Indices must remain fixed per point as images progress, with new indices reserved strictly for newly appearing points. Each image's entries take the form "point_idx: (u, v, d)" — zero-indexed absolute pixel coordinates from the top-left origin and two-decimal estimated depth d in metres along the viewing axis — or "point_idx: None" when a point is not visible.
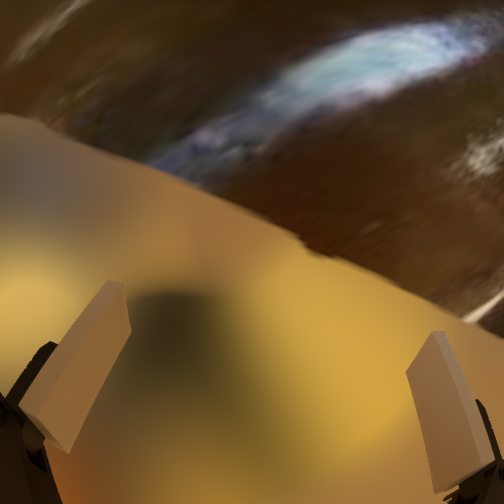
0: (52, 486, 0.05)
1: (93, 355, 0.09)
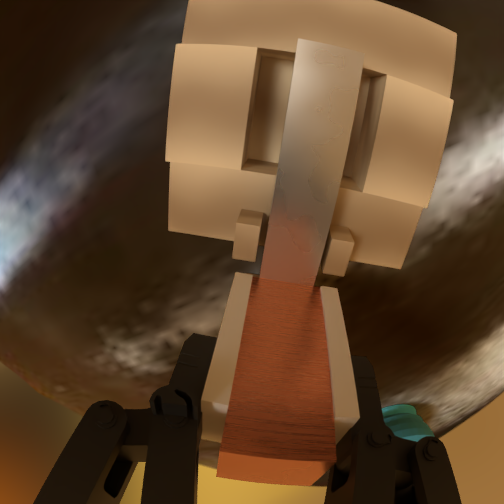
0: (196, 493, 0.06)
1: None
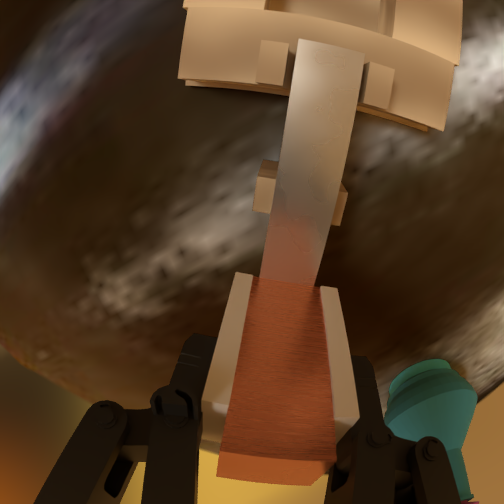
0: None
1: None
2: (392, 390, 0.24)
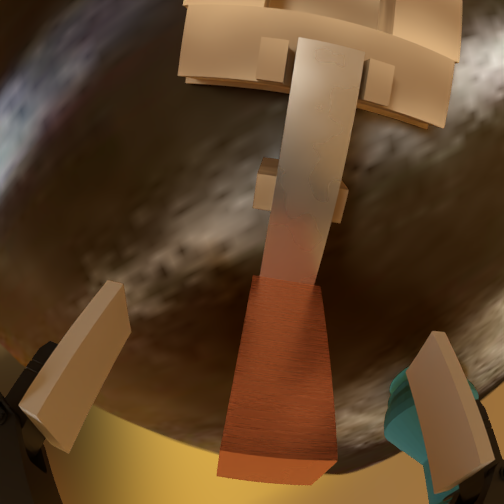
0: (52, 486, 0.05)
1: (93, 355, 0.09)
2: (393, 389, 0.24)
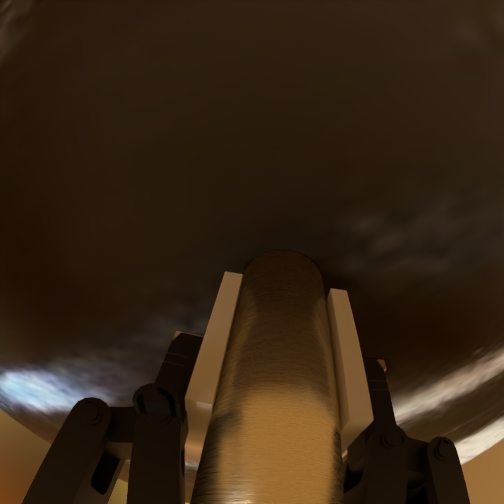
0: (183, 491, 0.06)
1: None
2: None
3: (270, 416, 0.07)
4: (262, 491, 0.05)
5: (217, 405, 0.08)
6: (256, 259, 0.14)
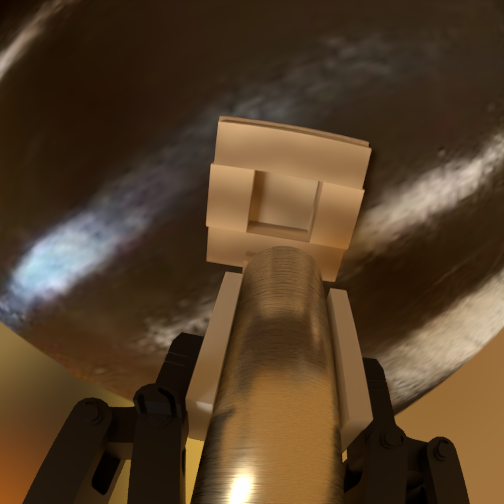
0: (184, 491, 0.06)
1: None
2: None
3: (271, 401, 0.07)
4: (264, 473, 0.05)
5: (220, 393, 0.08)
6: (257, 254, 0.14)
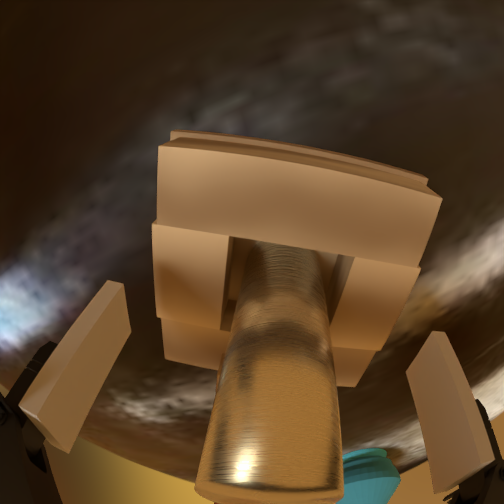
0: (52, 486, 0.05)
1: (93, 355, 0.09)
2: None
3: (274, 365, 0.08)
4: (268, 427, 0.06)
5: (227, 362, 0.09)
6: (259, 243, 0.16)
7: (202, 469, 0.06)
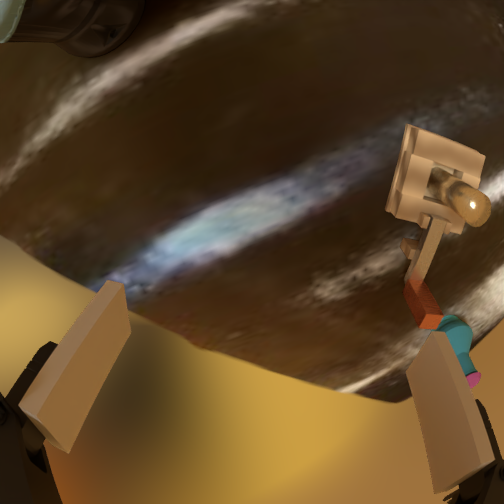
0: (52, 486, 0.05)
1: (93, 355, 0.09)
2: None
3: (466, 184, 0.28)
4: (474, 189, 0.26)
5: (453, 187, 0.29)
6: None
7: (467, 199, 0.26)
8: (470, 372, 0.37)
